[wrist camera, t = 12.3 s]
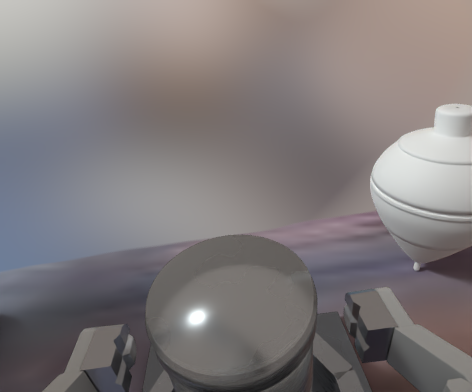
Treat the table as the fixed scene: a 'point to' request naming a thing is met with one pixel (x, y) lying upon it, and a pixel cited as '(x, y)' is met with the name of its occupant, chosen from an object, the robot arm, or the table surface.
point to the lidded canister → (234, 317)
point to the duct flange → (324, 362)
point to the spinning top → (428, 187)
